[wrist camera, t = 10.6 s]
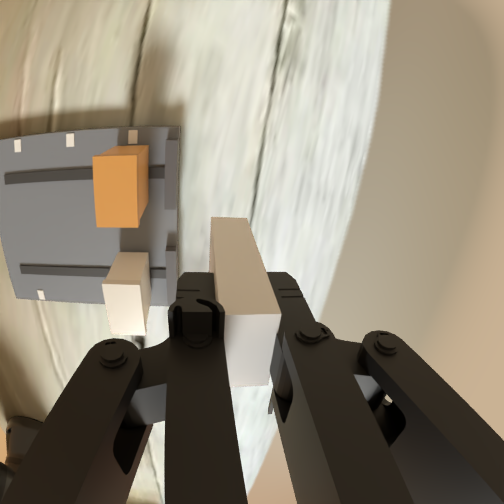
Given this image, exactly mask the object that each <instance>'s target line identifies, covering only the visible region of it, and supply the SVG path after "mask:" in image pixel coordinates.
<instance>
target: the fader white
mask: <svg viewBox="0 0 504 504" xmlns="http://www.w3.org/2000/svg"><path fill="white" fill-rule="evenodd" d="M102 289H103V295H104V300H105V306H106V311H107V316H108V321H109V326H110V330H111V334H122V335H146V332H147V329H146V324H147V318H148V313H149V307H150V302H151V297H152V296H151V284H150V271H149V255H148V252H118V253H117V255H116V258H115V260H114V262H113V264H112V266H111V268H110V271H109V273H108V275H107V277H106V279H104V280H103V282H102Z"/></svg>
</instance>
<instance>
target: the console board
mask: <svg viewBox="0 0 504 504" xmlns="http://www.w3.org/2000/svg"><path fill="white" fill-rule="evenodd" d="M133 145H149V165H148V191H149V202H148V204H147V206H146V208H145V210H144V212H143V214H142V216H141V218H140V225H139V227H138V228H114V227H97V225H96V214H95V201H94V184H93V158H92V157H93V156H95V155H100V154H102V153H103V152H105V151H107V150H109V149H111V148H112V147H114V146H133ZM179 145H180V126H135V127H109V128H92V129H79V130H67V131H57V132H48V133H39V134H31V135H24V136H17V137H11V138H4V139H0V237H1V242H2V246H3V251H4V255H5V259H6V263H7V267H8V271H9V275H10V278H11V282H12V285H13V289H14V292H15V295H16V298H18V299H30V300H42V301H57V302H73V303H91V304H105V300H104V295H103V289H102V282H103V280H104V279H106V277H107V275H108V273H109V271H110V268H111V266H112V264H113V262H114V260H115V258H116V255H117V253H118V252H148V255H149V271H150V284H151V296H152V297H151V302H150V306H170V305H171V304H172V303H174V302H175V301H176V291H177V280H178V172H179Z"/></svg>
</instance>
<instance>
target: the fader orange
mask: <svg viewBox="0 0 504 504" xmlns="http://www.w3.org/2000/svg"><path fill="white" fill-rule="evenodd" d="M92 158H93V184H94V201H95V214H96V225H97V227H114V228H138V227H139V225H140V218H141V216H142V214H143V212H144V210H145V208H146V206H147V204H148V202H149V191H148V165H149V145H133V146H114V147H112V148H111V149H109V150H107V151H105V152H103V153H102V154H100V155H95V156H93V157H92Z"/></svg>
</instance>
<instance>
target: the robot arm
mask: <svg viewBox="0 0 504 504" xmlns="http://www.w3.org/2000/svg"><path fill="white" fill-rule="evenodd" d="M168 323H169V338H167V339H166V340H165V341H164V342H162V343H160V344H158V345H156V346H153V347H149V348H144V349H139V350H138V348H137V347H136V346H135V345H134V344H133V343H132V342H129V341H127V340H124V339H116V338H113V339H107V340H103V341H101V342H99V343H97V344H95V345H94V346H93V347H92V348H91V349H90V350H89V352H88V353H87V355H86V356H85V358H84V359H83V361H82V362H81V364H80V365H79V367H78V368H77V370H76V371H75V373H74V374H73V376H72V378H71V379H70V381H69V382H68V384H67V385H66V387H65V389H64V390H63V392H62V393H61V395H60V397H59V398H58V400H57V401H56V403H55V405H54V406H53V408H52V410H51V411H50V413H49V415H48V416H47V418H46V420H45V421H44V423H41V422H38V421H36V420H33V419H30V418H25V417H12V418H11V419H10V420H9V422H8V425H7V428H6V441H7V442H6V443H7V457H6V461H5V464H3V463H2V462H0V504H126V501H127V498H128V495H129V492H130V489H131V486H132V483H133V481H134V478H135V475H136V472H137V469H138V466H139V463H140V461H141V458H142V455H143V452H144V449H145V446H146V444H147V441H148V438H149V435H150V433H151V430H152V427H153V423H157V422H161V421H165V504H248V501H247V496H246V490H245V484H244V478H243V472H242V465H241V459H240V453H239V446H238V440H237V433H236V426H235V419H234V412H233V405H232V398H231V391H230V387H244V386H263V385H268V383H269V378H270V374H271V378H272V382H273V389H272V394H271V398H270V403H269V407H268V414H272V411H273V408H274V412H275V416H276V420H277V424H278V428H279V433H280V436H281V441H282V445H283V448H284V453H285V457H286V461H287V465H288V469H289V473H290V477H291V481H292V484H293V489H294V493H295V497H296V500H297V504H504V441H503V440H502V438H501V437H500V436H499V435H498V434H497V433H496V432H495V431H494V430H493V429H492V428H491V427H490V426H489V425H488V424H487V423H486V422H485V421H484V420H483V419H482V418H481V417H480V416H479V415H478V414H477V413H476V412H475V411H474V410H473V409H472V408H471V407H470V406H469V404H468V403H467V402H466V401H465V400H464V399H462V397H460V395H459V394H457V392H455V390H453V388H451V386H449V385H448V384H447V383H446V382H445V381H444V380H443V379H442V378H441V377H440V376H439V375H438V374H437V373H436V372H435V371H434V370H433V369H432V368H431V367H430V366H429V365H428V364H427V363H426V362H425V361H424V360H423V359H422V358H421V357H420V356H419V355H418V354H417V353H416V352H415V351H414V350H412V349H411V348H410V347H409V346H408V345H407V344H406V343H405V342H404V341H403V340H402V339H400V338H399V337H398V336H396V335H395V334H392V333H389V332H387V331H371V332H370V333H368V334H366V335H365V337H364V339H363V341H362V343H357V342H350V341H344V340H339V339H336V338H335V337H334V335H333V333H332V332H331V330H330V329H329V328H328V327H326V326H325V325H323V324H322V323H319V322H316V321H315V319H314V317H313V315H312V313H311V311H310V309H309V306H308V304H307V302H306V300H305V298H303V294H302V292H301V290H300V288H299V286H298V284H297V282H296V280H295V279H294V278H293V277H292V276H290V275H289V274H288V273H287V272H266V270H265V267H264V264H263V261H262V258H261V256H260V253H259V250H258V247H257V245H256V242H255V239H254V236H253V234H252V231H251V228H250V225H249V223H248V220H247V218H227V217H211V234H210V260H209V273H206V272H184V273H183V274H182V276H181V277H180V278H179V279H178V280H177V291H176V301H175V302H174V303H172V304H171V305H170V307H169V310H168ZM386 394H387V395H388V396H389V397H390V398H391V399H392V403H390V402H388V401H387V400H386V399H385V396H386Z"/></svg>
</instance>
